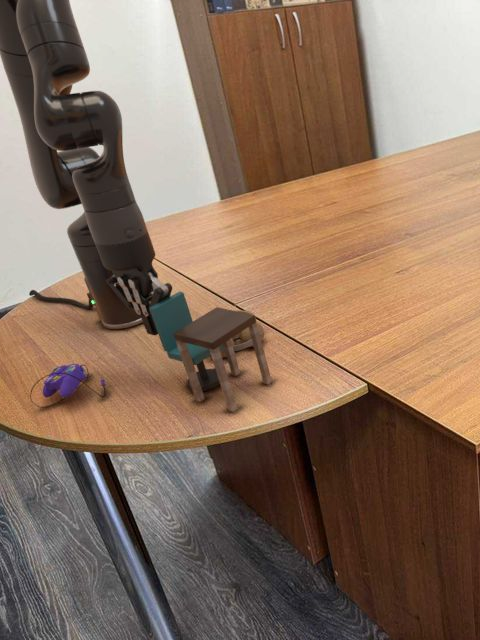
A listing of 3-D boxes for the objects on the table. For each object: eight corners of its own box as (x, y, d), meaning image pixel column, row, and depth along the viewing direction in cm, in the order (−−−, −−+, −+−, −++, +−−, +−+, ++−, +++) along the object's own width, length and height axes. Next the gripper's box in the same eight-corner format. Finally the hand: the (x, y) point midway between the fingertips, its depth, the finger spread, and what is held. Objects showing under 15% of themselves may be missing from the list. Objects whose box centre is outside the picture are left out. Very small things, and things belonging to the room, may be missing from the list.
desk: (196, 401, 104) (172, 333, 97) (236, 371, 111) (216, 306, 104) (233, 412, 101) (211, 343, 94) (272, 381, 107) (254, 315, 101)
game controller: (11, 388, 103) (63, 348, 109) (49, 424, 107) (97, 383, 114) (35, 388, 97) (89, 345, 103) (74, 427, 101) (124, 383, 107)
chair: (176, 386, 107) (148, 307, 100) (204, 368, 112) (179, 291, 104) (205, 395, 105) (178, 314, 97) (232, 375, 109) (208, 297, 101)
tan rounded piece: (242, 305, 126) (269, 319, 114) (249, 328, 128) (277, 344, 116) (183, 324, 120) (206, 342, 109) (192, 348, 122) (215, 368, 110)
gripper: (170, 229, 98) (202, 329, 107) (112, 220, 104) (147, 315, 113) (129, 247, 93) (166, 351, 102) (70, 237, 98) (110, 336, 107)
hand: (156, 332), depth 107 cm, fingers closed
